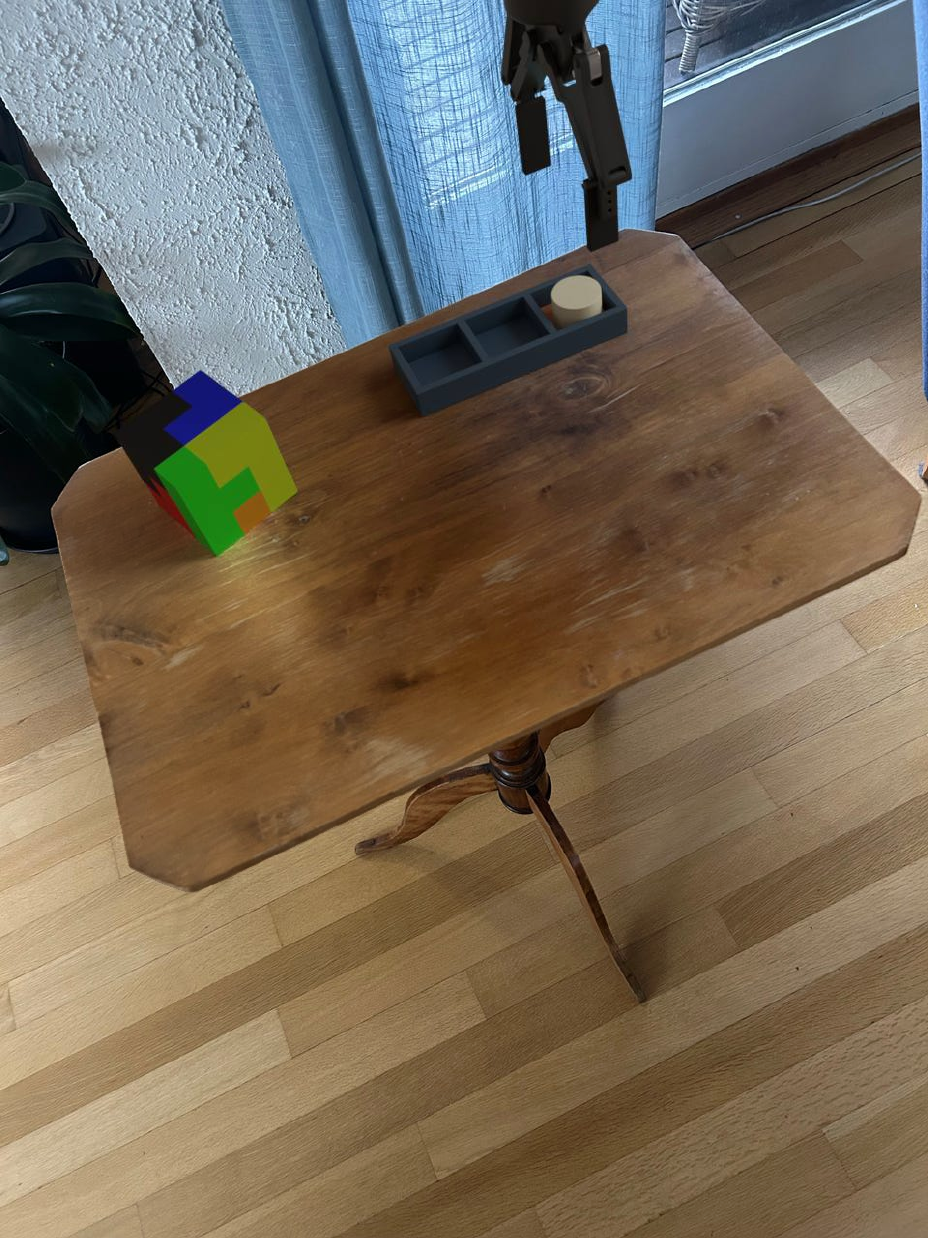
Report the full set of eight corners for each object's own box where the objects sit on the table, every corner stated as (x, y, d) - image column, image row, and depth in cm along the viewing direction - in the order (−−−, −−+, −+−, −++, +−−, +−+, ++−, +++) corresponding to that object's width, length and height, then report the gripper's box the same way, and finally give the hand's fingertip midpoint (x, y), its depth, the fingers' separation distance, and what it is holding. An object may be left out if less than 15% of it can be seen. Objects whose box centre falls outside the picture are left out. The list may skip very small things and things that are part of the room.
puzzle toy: (237, 443, 100) (200, 369, 92) (298, 491, 95) (265, 417, 87) (158, 504, 97) (113, 433, 89) (216, 556, 92) (175, 487, 84)
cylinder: (611, 324, 100) (610, 296, 97) (566, 343, 99) (564, 315, 97) (588, 296, 103) (587, 268, 100) (545, 314, 102) (542, 286, 99)
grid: (627, 332, 100) (627, 307, 98) (422, 417, 98) (416, 394, 95) (591, 287, 105) (590, 262, 102) (394, 367, 102) (388, 344, 100)
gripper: (439, -93, 79) (477, 154, 97) (579, 34, 65) (593, 296, 83) (524, -124, 80) (546, 127, 97) (680, -5, 66) (673, 263, 84)
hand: (568, 205), depth 90 cm, fingers open, 13 cm apart
